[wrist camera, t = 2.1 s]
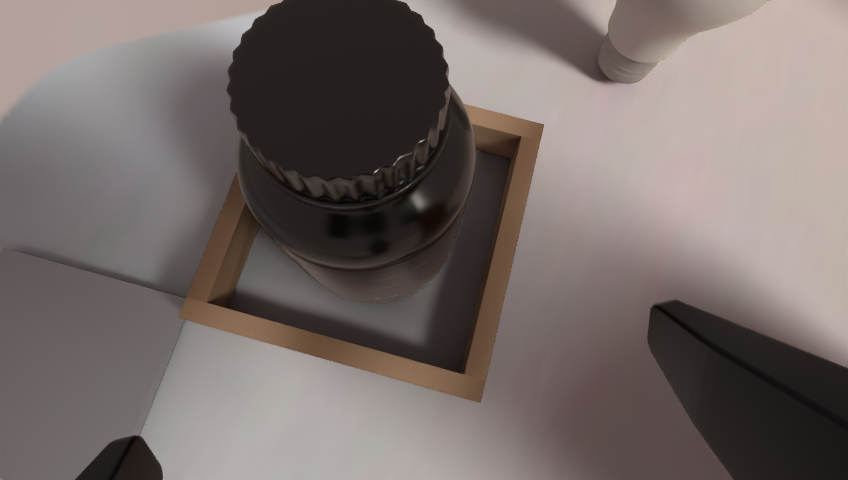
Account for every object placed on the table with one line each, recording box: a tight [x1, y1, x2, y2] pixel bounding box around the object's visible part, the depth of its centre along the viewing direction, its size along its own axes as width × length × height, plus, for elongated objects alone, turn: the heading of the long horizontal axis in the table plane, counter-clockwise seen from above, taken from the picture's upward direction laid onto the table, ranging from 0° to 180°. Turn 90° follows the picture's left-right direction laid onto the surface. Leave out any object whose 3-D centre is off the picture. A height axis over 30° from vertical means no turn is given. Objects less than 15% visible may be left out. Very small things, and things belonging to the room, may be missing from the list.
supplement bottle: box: [227, 0, 476, 304], centre depth 16 cm, size 7×7×12 cm
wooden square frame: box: [178, 104, 544, 403], centre depth 21 cm, size 12×12×2 cm
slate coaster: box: [0, 248, 186, 480], centre depth 20 cm, size 8×8×1 cm
